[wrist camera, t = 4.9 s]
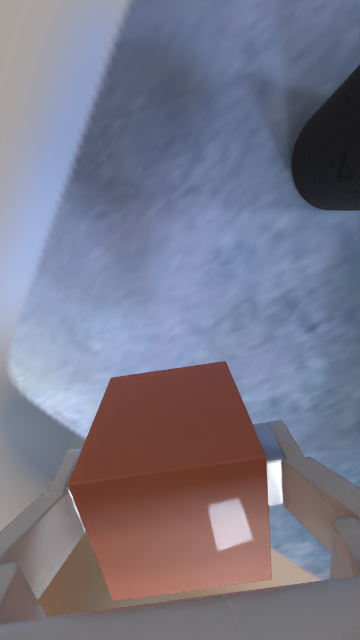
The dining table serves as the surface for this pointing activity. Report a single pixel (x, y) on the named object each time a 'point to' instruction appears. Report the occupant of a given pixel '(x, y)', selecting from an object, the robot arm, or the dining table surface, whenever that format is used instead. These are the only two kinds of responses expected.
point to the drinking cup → (331, 151)
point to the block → (174, 484)
